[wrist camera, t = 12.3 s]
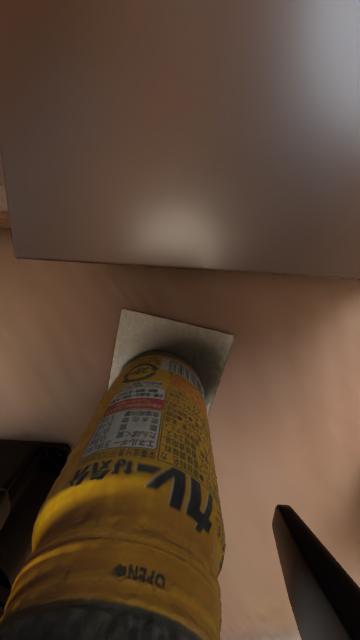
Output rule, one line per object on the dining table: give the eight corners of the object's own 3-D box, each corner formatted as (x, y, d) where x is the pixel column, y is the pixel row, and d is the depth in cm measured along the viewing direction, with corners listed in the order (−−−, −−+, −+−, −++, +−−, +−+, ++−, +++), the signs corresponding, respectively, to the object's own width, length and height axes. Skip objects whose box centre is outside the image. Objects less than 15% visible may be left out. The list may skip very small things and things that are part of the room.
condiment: (102, 418, 16) (-96, 810, 5) (122, 307, 14) (-155, 524, 3) (199, 439, 17) (237, 851, 5) (233, 334, 14) (434, 632, 3)
